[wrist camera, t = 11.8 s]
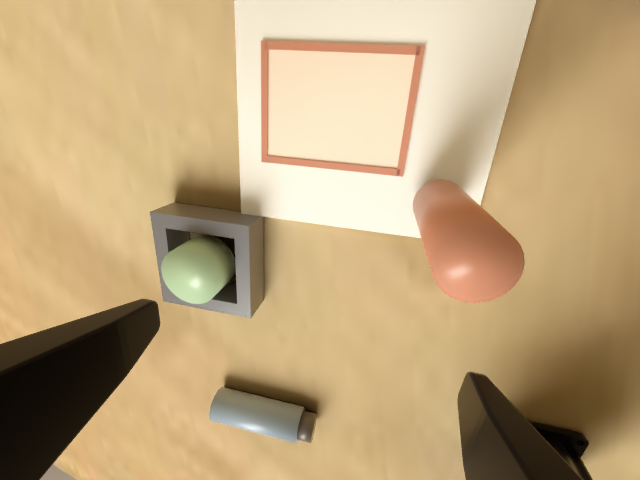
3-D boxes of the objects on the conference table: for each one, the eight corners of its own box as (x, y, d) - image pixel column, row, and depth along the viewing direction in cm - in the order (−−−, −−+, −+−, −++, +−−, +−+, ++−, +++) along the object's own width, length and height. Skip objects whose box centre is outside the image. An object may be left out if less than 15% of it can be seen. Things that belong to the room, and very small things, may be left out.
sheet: (537, -16, 14) (543, -21, 14) (467, 242, 19) (470, 245, 19) (237, -16, 17) (232, -21, 16) (243, 211, 22) (239, 214, 21)
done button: (234, 238, 21) (215, 253, 19) (236, 289, 23) (219, 308, 20) (181, 231, 22) (157, 244, 19) (187, 280, 23) (165, 298, 21)
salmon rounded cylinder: (466, 178, 18) (537, 232, 9) (454, 224, 19) (509, 309, 10) (415, 173, 18) (442, 219, 10) (407, 218, 19) (424, 295, 11)
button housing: (263, 214, 22) (248, 226, 19) (263, 299, 24) (250, 318, 22) (174, 202, 23) (149, 211, 21) (183, 284, 25) (163, 301, 23)
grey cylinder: (318, 403, 28) (313, 421, 25) (314, 434, 28) (308, 454, 25) (226, 381, 30) (211, 396, 27) (223, 410, 30) (207, 427, 27)
